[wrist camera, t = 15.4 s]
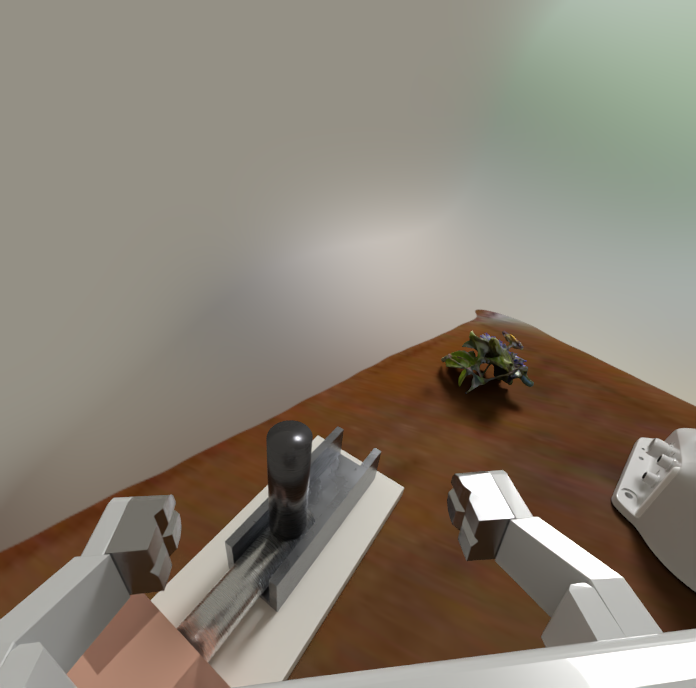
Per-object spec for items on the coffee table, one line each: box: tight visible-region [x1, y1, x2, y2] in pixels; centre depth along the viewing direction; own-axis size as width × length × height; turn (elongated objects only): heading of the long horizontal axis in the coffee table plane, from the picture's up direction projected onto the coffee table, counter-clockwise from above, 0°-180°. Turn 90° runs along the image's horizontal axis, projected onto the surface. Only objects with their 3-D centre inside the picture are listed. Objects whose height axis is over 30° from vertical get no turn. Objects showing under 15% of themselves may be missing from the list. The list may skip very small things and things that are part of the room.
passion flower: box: [441, 331, 534, 394], centre depth 59 cm, size 11×11×12 cm
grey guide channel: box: [225, 427, 381, 612], centre depth 36 cm, size 16×6×5 cm, turn 146°
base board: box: [151, 436, 404, 688], centre depth 33 cm, size 30×12×2 cm, turn 146°
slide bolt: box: [176, 421, 315, 662], centre depth 26 cm, size 16×3×14 cm, turn 146°
